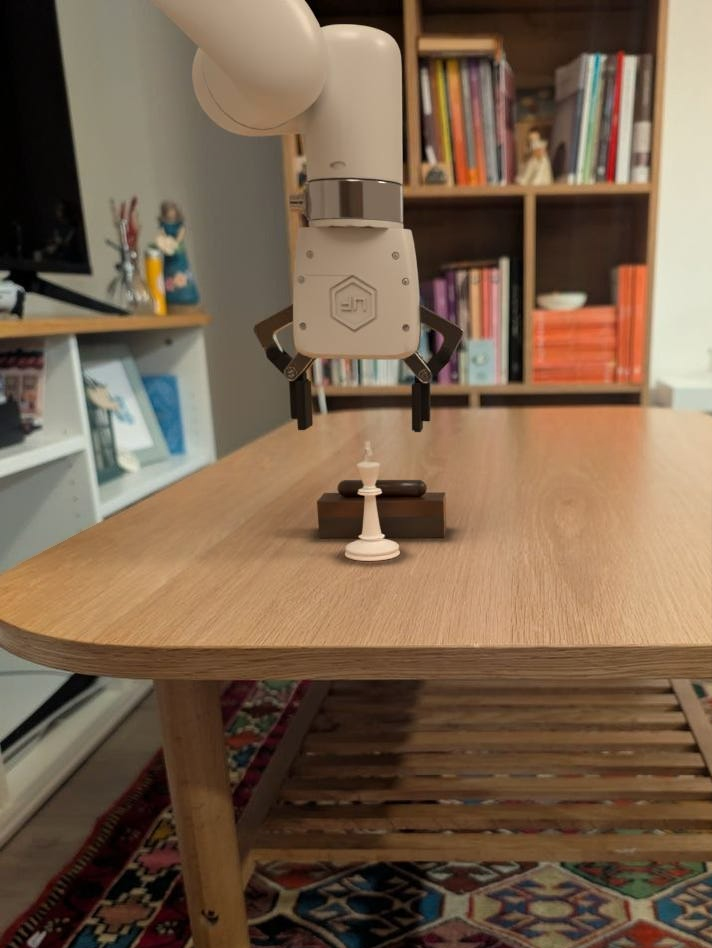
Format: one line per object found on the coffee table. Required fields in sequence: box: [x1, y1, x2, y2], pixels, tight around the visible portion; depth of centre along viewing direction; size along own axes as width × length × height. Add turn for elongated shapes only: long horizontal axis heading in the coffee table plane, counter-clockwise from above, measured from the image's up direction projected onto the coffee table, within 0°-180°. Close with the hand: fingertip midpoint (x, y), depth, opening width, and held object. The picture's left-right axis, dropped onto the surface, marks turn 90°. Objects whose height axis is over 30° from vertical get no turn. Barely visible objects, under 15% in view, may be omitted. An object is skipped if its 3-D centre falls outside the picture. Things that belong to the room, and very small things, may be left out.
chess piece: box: [344, 440, 401, 562], centre depth 83 cm, size 5×5×10 cm
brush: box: [316, 479, 447, 539], centre depth 91 cm, size 12×4×5 cm, turn 89°
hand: (361, 429), depth 81 cm, fingers open, 9 cm apart
